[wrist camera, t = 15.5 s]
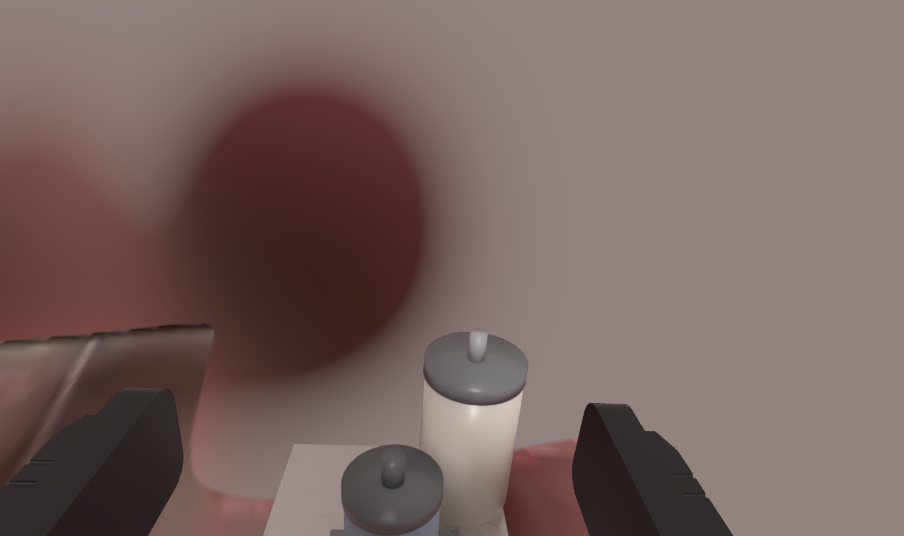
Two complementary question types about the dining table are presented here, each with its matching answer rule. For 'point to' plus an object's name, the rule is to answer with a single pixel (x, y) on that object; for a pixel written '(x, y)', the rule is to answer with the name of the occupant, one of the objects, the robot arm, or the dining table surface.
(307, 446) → the mounting plate
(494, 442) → the white lidded canister
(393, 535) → the grey lidded canister
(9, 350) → the dining table surface
